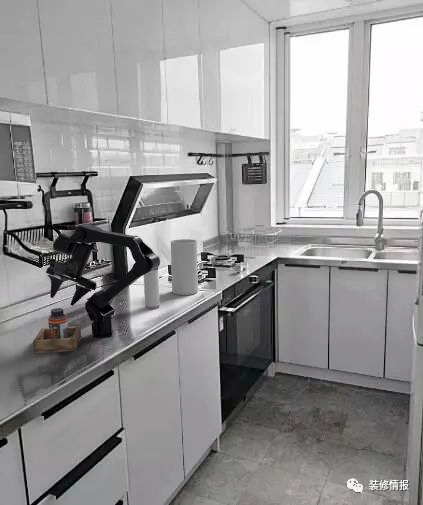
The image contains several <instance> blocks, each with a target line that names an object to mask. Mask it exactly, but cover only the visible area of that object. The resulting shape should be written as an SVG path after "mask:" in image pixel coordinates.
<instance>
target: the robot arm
mask: <svg viewBox="0 0 423 505" xmlns="http://www.w3.org/2000/svg"><path fill="white" fill-rule="evenodd" d="M95 243H101V244H102V243H103V244H107V245H114V246H119V247H125V248H127V249H129V250H130V254H131V256H132V260H133V261H134V263H133V265H132V266H131V269H130V270H129V271H128V272H126V273H125V274H123V276H122V277H121V278H119V279H118V280H117V281H116V282H114V283H113V284H111V286H109V287H108V288H107V289H106V290H104V289H100V290H98V291H96V289H97V286H98V284H97V282H96V281H93V280H92V279H89V278H86V277H84V276H83V274H84V270H85V269H86V270H88V268H89V266H88V264H87V263H88V261H89V259H90V257H91V254H92V252H96V253H98V252H99V249H98V247H97V244H95ZM52 249H53V251H54V252H56V253H59V254H63V255H65V256H68V258H67V259H66V261H58V262H57V261H56V262H54V265H53V266H51V265H50V266H48V267H47V268H46V271H45V274H47V277H48V278H49V279H50V298H51V299H53V298H54V297H55V296H56V295H57V293H58V291H59V290H60V288H61V286H62V285H63V283H64V279H65V280H69V281H71V282H74V283H77V284H75V291H74V294H73V296H72V298H71V301H70V305H69V306H72V307H73V306H74V305H76V304H77V303H78V301H80V299H83V297H84V296H86V295H87V294H89V293H91V292H92V291H94V293H93V294H92V295H91V296H90V297H88V298H86V302H85V303H84V308H85V311H86V313H87V315H88V318H89V320H90V322H91V335H92V337H93V338H106V337H112V336H113V334H114V329H113V317H112V316H114V315H115V312H116V309H115V307H114V306H113V305H112V303H113V301H114V300H115V298H116V297H118V296H119V295H121V293H123V292H124V291H125V290H127V288H129V287H130V286H131V285H132V284H134V283H135V282H136V281H137V280H138V279H140V278H142V276H143V277H144V275H145V274H147V273H149V272H151V271H153V270H155V269H156V268H158V269H159V267H160V266H161V260H160V257H159V255H158V254H156V253H155V251H153V249H152V248H151V247H150V246H149V245H148V244H147V243H145V242H144V241H143V239H142V238H141V237H140V236H139V235H130V234H125V233H120V232H116V231H115V232H113V231H109V230H104V229H102V228H100V226H99V227H98V226H97V225H94V224H90V223H89V224H83V225H79V226H77V227H76V229H75V230H74V233H72V235H71V236H70V235H68V234H65V233H63V232H61V233H58V236H57V237H56V239H55V240H54V242H53V244H52ZM69 256H70V258H69ZM95 291H96V292H95Z"/></svg>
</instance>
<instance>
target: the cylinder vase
mask: <svg viewBox="0 0 423 505" xmlns="http://www.w3.org/2000/svg"><path fill="white" fill-rule="evenodd" d="M170 267H171V291H172V294H174V295H177V296H189V295H190V296H191V295H194V294H197V293H198V292H199V279H198V277H199V273H198V271H199V270H198V240H197V239H191V238H189V239H186V238H185V239H174V240H171V241H170Z"/></svg>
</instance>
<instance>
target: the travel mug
mask: <svg viewBox="0 0 423 505" xmlns="http://www.w3.org/2000/svg"><path fill="white" fill-rule="evenodd" d="M159 279H160V278H159V267H158V268H156V269H155V270H153V271H151V272H149V273H147V274H145V275H143V287H144V288H143V289H144V290H143V291H144V293H143V294H144V308H145V309H146V310H157V309H159V308H160V306H161V305H160V280H159Z"/></svg>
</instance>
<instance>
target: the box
mask: <svg viewBox="0 0 423 505" xmlns="http://www.w3.org/2000/svg"><path fill="white" fill-rule="evenodd" d="M67 327H68V338H62V339H50V338H49V327H47V328H45V327H44V328H40V330H39V332H38V334H37V335H36V336H35V338H34V339H33V341H32V347H33V348H32V350H33V354H44V353H45V354H47V353H61V352H62V353H63V352H77V349H78V347H79V344H80V341H81V338H82V330H81V329H82V328H81V326H79V325H78V326H67Z"/></svg>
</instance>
